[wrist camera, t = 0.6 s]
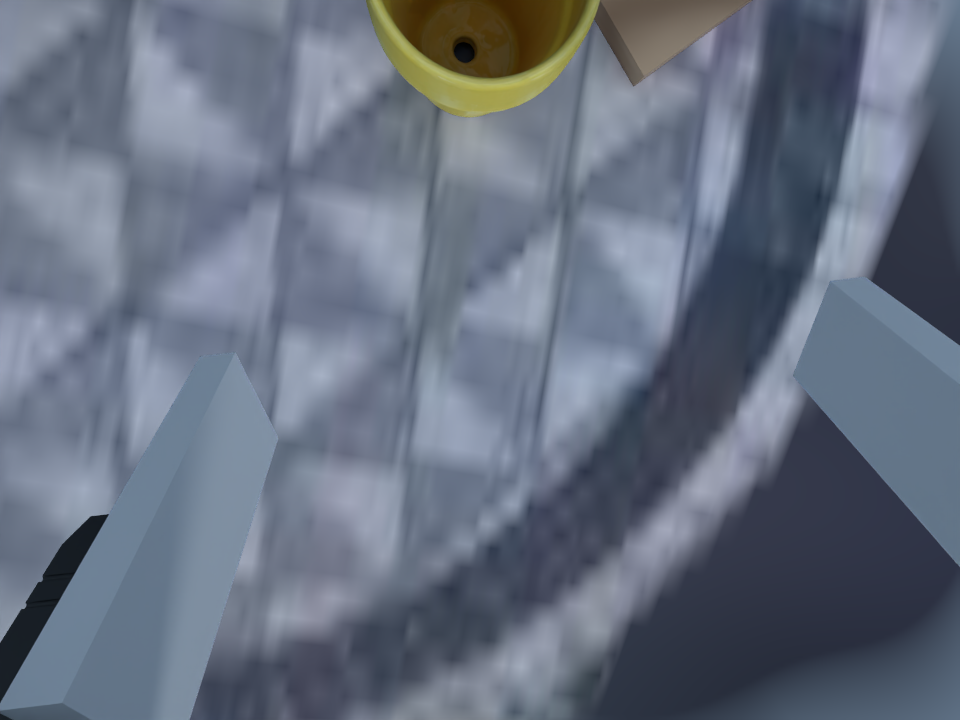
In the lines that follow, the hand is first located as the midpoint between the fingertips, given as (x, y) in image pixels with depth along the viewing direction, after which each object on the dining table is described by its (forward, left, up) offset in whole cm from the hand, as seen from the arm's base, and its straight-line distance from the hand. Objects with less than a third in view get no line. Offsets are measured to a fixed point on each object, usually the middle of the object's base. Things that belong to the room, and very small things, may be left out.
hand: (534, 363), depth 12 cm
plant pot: (-12, +9, -21) cm, 26 cm away
